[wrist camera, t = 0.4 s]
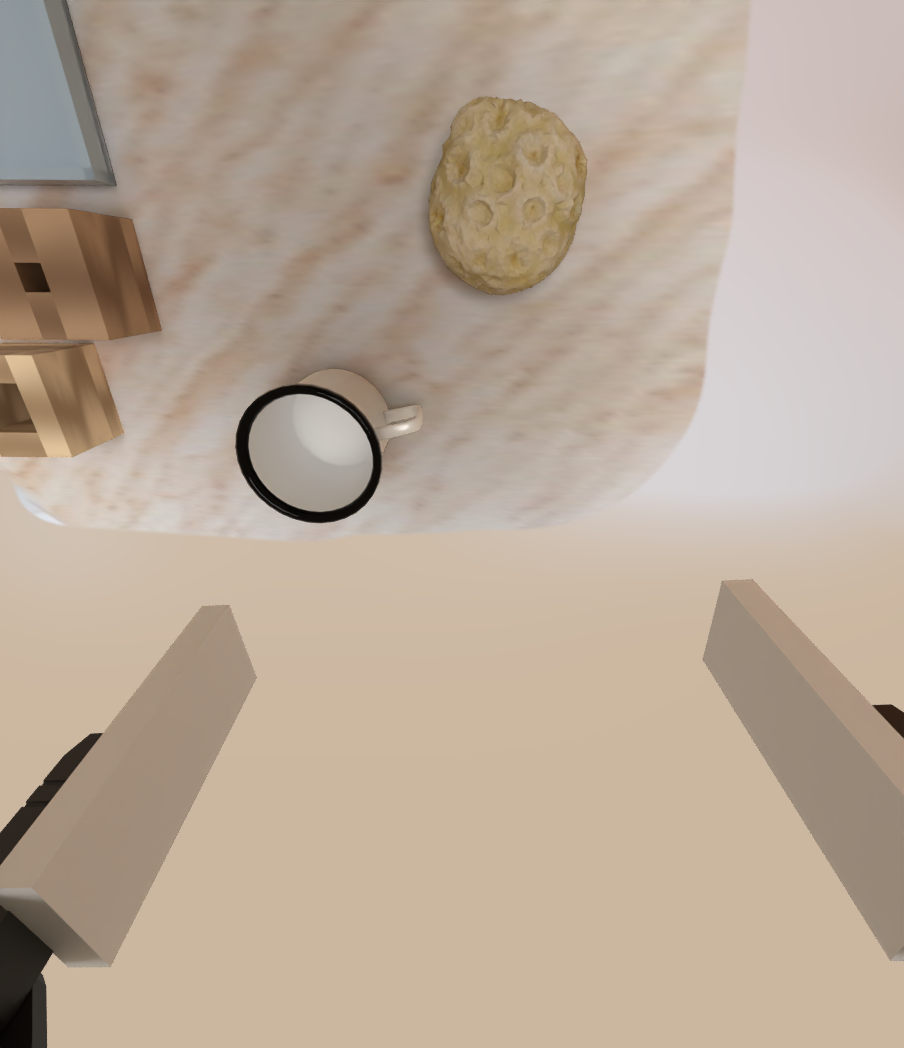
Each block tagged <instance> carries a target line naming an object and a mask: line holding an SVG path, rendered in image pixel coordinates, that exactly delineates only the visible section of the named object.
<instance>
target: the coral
mask: <svg viewBox="0 0 904 1048" xmlns="http://www.w3.org/2000/svg"><path fill="white" fill-rule="evenodd" d="M586 175H587V159H586V157H585V154H584V152H583V150H582V147H581V145H580V142H579V141H578V139H577V138H576V137H575V135H574V134H573V133H571V132H570V131H569V130H568V128H567V127H566V126H565V124H564V123H563V122H562V120H561V119H560V118H558V117H557V116H556V114H555V113H551V112H549V111H548V110H546V109H544V108H540V107H539V106H537V105H535V104H533V103H531V102H523V101H522V99H520V100H518V101H515V100H513V99H507V100H506V99H499V98H497V97H496V98H492V97H487V96H486V97H478V98H476V99H474V100H472V101H471V102H469V103H468V104H466V105H465V106H464V107H462V108H461V109H460V110H459V112H458V114H457V115H456V117H455V119H454V121H453V123H452V125H451V133H450V136H449V138H448V139H447V140H446V142H445V143H444V144H443V156H442V159H441V162H440V164H439V166H438V168H437V170H436V173H435V175H434V178H433V180H432V183H431V195H430V197H429V200H428V201H429V204H430V208H429V225H430V231H431V234H432V236H433V240H434V244H435V247H436V249H437V250H438V251H439V252H440V254H441V257H442V259H443V261H444V262H445V263H446V265H447V267H448V268H449V269H450V270H451V271H452V272H453V273H455V274H456V275H457V276H458V277H459V278H460V279H462V280H463V281H464V282H466V283H468V284H469V285H471V286H473V288H477V289H478V290H481V291H485V292H486V293H488V294H491V295H492V294H494V295H507V294H512V293H516V292H518V291H523V290H524V289H527V288H531V287H533V286H534V285H536V284H538V283H539V282H541V281H542V280H544V279H545V278H546V277H547V276H548V275H550V274H551V273H552V272H553V271H554V270H555V269H556V268H557V267H558V266H559V264H560V262H561V261H562V260H563V258H564V257H565V255H566V254H567V252H568V249H569V247H570V245H571V244H572V241H573V239H574V235H575V230H576V224H577V222H578V220H579V216H580V215H581V211H582V204H583V200H584V195H585V180H586Z"/></svg>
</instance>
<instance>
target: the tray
mask: <svg viewBox="0 0 904 1048" xmlns="http://www.w3.org/2000/svg"><path fill="white" fill-rule="evenodd" d="M0 185H116V182H115V178H114V175H113V171H112V167H111V164H110V160H109V156H108V153H107V149H106V145H105V142H104V138H103V134H102V131H101V127H100V124H99V120H98V116H97V113H96V109H95V105H94V102H93V98H92V94H91V91H90V87H89V83H88V80H87V76H86V72H85V69H84V65H83V62H82V58H81V54H80V51H79V47H78V43H77V40H76V36H75V32H74V29H73V25H72V21H71V18H70V14H69V10H68V7H67V3H66V0H0Z"/></svg>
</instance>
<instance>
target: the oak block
mask: <svg viewBox="0 0 904 1048" xmlns="http://www.w3.org/2000/svg"><path fill="white" fill-rule="evenodd" d="M123 433H124V430H123V428H122V425H121V422H120V419H119V416H118V413H117V410H116V407H115V404H114V401H113V398H112V395H111V392H110V389H109V386H108V383H107V380H106V377H105V374H104V371H103V368H102V365H101V362H100V359H99V356H98V353H97V350H96V347H95V345H94V344H47V343H2V344H0V457H74V456H76V455H78V454H80V453H83V452H85V451H87V450H89V449H91V448H93V447H96V446H98V445H100V444H102V443H104V442H106V441H108V440H111V439H113V438H115V437H117V436H119V435H121V434H123Z"/></svg>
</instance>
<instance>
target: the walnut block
mask: <svg viewBox="0 0 904 1048" xmlns="http://www.w3.org/2000/svg"><path fill="white" fill-rule="evenodd" d="M161 330H162V329H161V325H160V322H159V318H158V314H157V310H156V307H155V303H154V299H153V296H152V292H151V288H150V284H149V281H148V277H147V273H146V270H145V266H144V262H143V258H142V255H141V251H140V247H139V243H138V240H137V236H136V232H135V229H134V225H133V221H132V220H131V219H126V218H120V217H114V216H108V215H102V214H96V213H90V212H85V211H79V210H73V209H45V208H0V336H1V338H2V339H59V340H112V339H117V338H123V337H128V336H134V335H139V334H145V333H150V332H156V331H161Z"/></svg>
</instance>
